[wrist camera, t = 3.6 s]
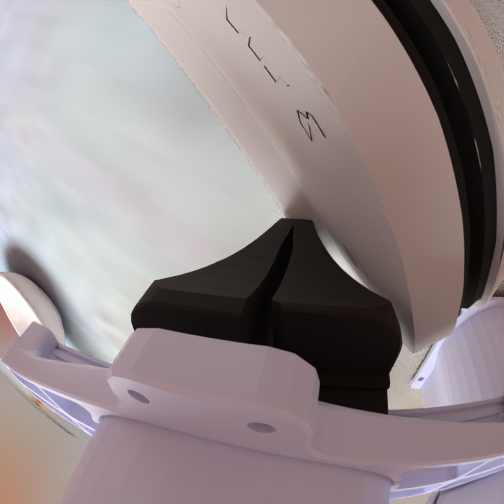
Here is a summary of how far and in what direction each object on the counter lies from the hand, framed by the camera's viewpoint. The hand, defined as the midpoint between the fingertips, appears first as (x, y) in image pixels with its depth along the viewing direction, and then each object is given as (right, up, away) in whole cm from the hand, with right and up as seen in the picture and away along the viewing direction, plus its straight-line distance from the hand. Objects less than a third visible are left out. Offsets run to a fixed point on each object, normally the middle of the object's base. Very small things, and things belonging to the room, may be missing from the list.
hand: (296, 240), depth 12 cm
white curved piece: (0, +6, -1) cm, 7 cm away
